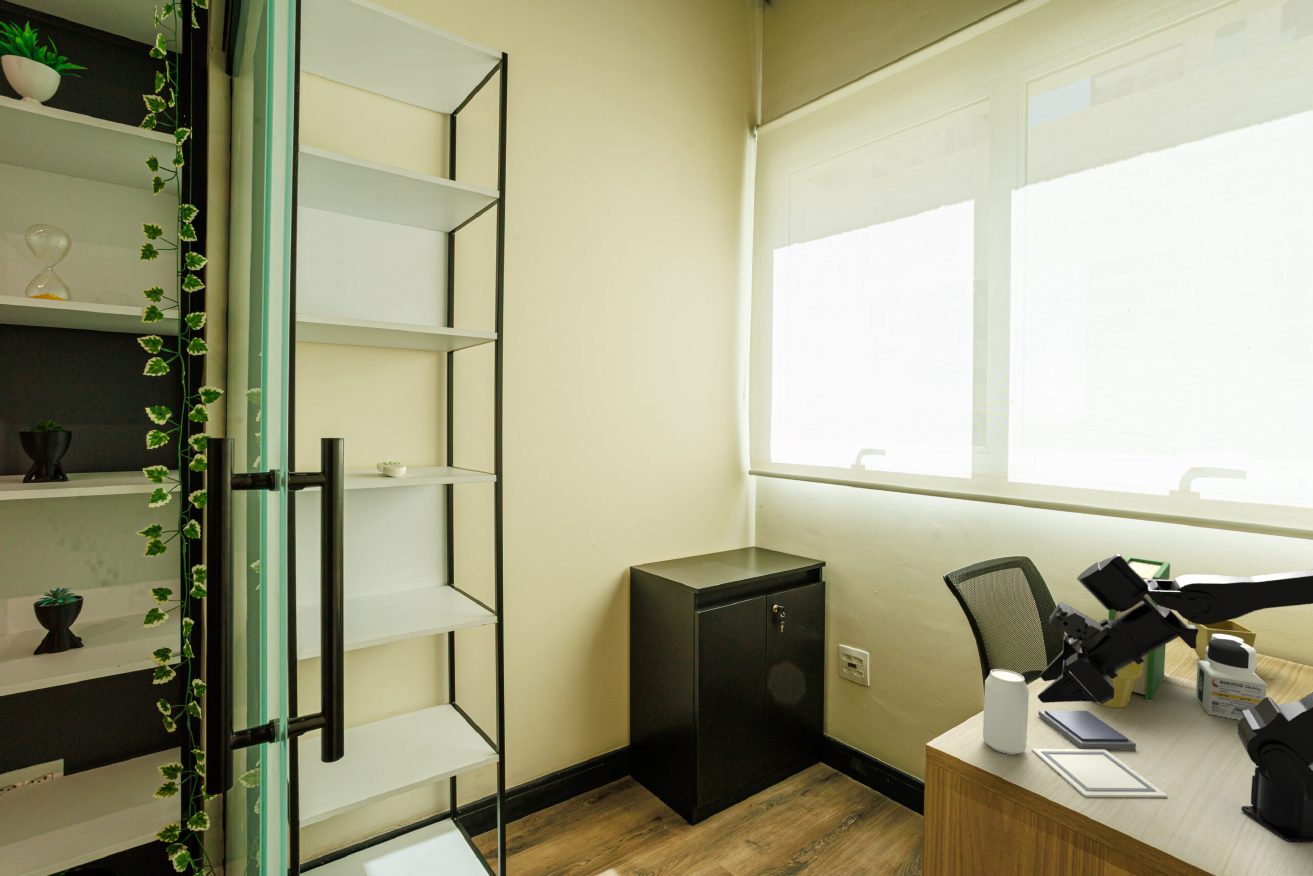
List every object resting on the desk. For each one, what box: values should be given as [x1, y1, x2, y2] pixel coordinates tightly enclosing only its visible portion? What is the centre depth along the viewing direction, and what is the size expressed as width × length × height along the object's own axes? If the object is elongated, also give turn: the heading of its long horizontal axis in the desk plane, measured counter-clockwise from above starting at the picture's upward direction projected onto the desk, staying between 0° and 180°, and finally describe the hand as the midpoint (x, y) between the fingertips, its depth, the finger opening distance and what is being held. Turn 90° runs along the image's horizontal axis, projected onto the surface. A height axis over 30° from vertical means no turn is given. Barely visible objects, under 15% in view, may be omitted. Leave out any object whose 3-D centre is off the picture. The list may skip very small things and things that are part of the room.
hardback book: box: [1108, 556, 1171, 702], centre depth 127 cm, size 18×7×24 cm, turn 135°
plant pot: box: [1096, 662, 1143, 709], centre depth 118 cm, size 10×10×10 cm
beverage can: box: [982, 668, 1030, 755], centre depth 100 cm, size 6×6×12 cm
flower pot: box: [1187, 619, 1257, 661], centre depth 137 cm, size 9×9×9 cm
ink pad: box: [1037, 709, 1137, 751], centre depth 106 cm, size 11×9×1 cm
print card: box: [1031, 748, 1168, 798], centre depth 94 cm, size 12×12×1 cm
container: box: [1195, 639, 1267, 721], centre depth 115 cm, size 8×8×13 cm
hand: (1040, 688), depth 98 cm, fingers open, 9 cm apart
